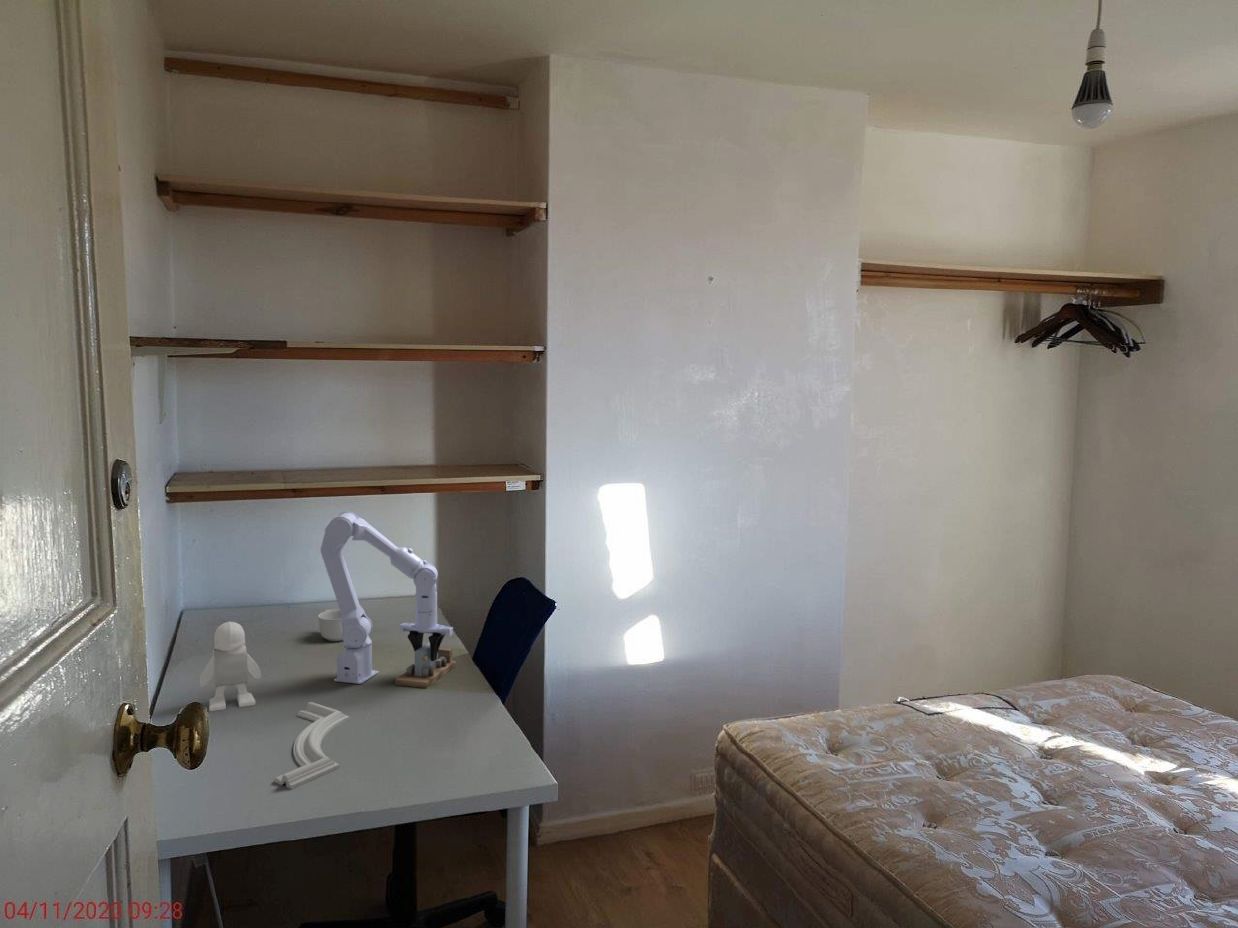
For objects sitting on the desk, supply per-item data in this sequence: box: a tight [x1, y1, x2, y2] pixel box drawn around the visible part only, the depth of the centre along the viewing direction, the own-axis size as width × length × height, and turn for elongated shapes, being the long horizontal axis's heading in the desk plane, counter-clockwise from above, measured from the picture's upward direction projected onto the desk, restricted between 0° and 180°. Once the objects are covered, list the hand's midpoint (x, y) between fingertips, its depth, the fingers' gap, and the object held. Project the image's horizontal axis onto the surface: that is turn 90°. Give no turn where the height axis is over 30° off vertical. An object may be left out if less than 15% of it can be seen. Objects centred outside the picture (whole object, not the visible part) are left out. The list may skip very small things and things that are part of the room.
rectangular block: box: [414, 641, 438, 676], centre depth 236 cm, size 10×3×6 cm, turn 166°
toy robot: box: [198, 621, 262, 712], centre depth 215 cm, size 14×9×20 cm, turn 117°
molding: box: [273, 701, 350, 790], centre depth 192 cm, size 42×12×3 cm, turn 13°
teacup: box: [317, 608, 343, 642], centre depth 270 cm, size 14×11×8 cm
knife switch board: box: [394, 647, 457, 689], centre depth 237 cm, size 18×9×5 cm, turn 166°
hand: (426, 659), depth 237 cm, fingers open, 4 cm apart
